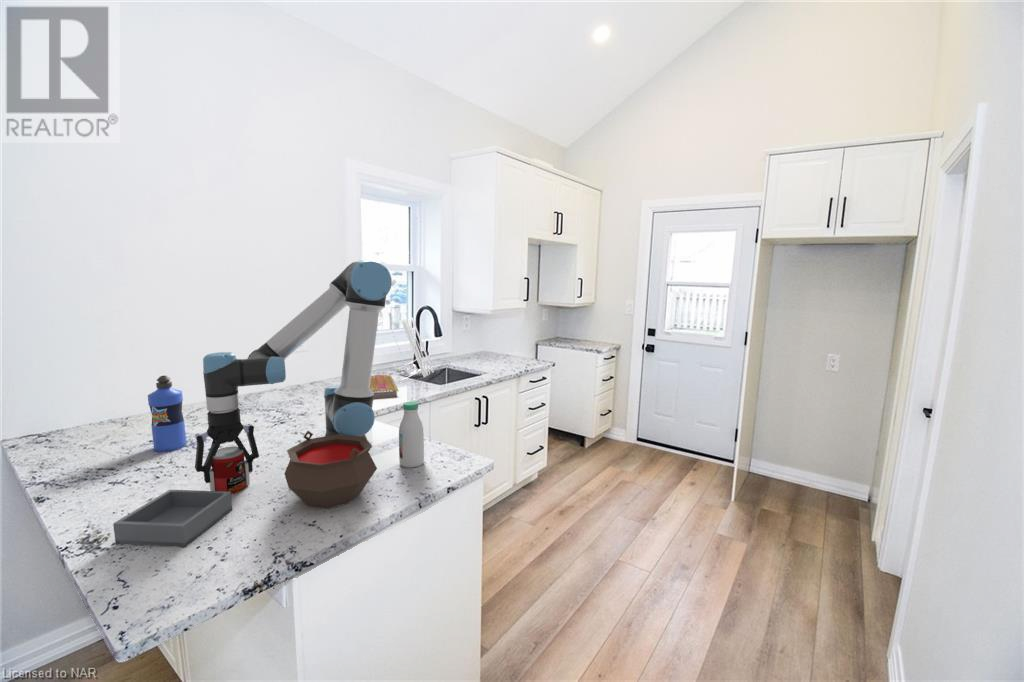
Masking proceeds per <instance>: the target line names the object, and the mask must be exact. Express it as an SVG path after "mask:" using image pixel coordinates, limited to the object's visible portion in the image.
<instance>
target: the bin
mask: <svg viewBox="0 0 1024 682" xmlns="http://www.w3.org/2000/svg"><path fill="white" fill-rule="evenodd" d="M232 501H233V500H232V494H231V492H224V491H210V490H192V489H191V490H189V489H169V490H166V491H165V492H164V493H162V494H161V495H159V496H157V497H155V498H153V499H151V500H150V501H149V502H147V503H145V504H143V505H142V506H140V507H139V508H136V509H135V510H134V511H131V512H130V513H129V514H126V515H125V516H123V517H122V518H120V519H119V520H117V521H115V522H114V523H113V524H112V525H113V532H114V533H113V534H114V540H115V545H118V544H129V545H128V546H143V545H157V546H156V547H167V546H177V547H176V548H186V547H188V546H189V545H190V544H191V543H192V541H193V540H194V539H195V540H196V539H197V537H198V536H199V537H200V536H202V535H203V534H204V533H206V532H207V530H209V529H210V528H211V527H213V526H214V525H215V524H217V523H218V522H219V521H221V520H222V519H223V518H224V517H226V516H227V515H228V514H229V513H231V512H232V511H233V502H232ZM230 511H231V512H230ZM202 533H203V534H202ZM199 537H198V538H199ZM195 540H194V541H195ZM194 541H193V542H194ZM190 542H191V543H190ZM189 543H190V544H189ZM130 544H131V545H130ZM188 544H189V545H188ZM158 545H159V546H158ZM187 545H188V546H187ZM178 546H180V547H178Z"/></svg>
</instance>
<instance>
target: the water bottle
mask: <svg viewBox="0 0 1024 682" xmlns="http://www.w3.org/2000/svg"><path fill="white" fill-rule="evenodd" d="M156 381H157V382H156V384H155V385H156V390H155V391H153V392H151V393H149V394H147V401H148V402H147V403H148V404H147V405H148V406H149V409H150V413H151V434H152V436H151V437H152V443H153V451H154V452H156V453H157V452H158V453H166V452H167V451H168V452H173V450H174V451H177V450H181V449H182V447H183V448H185V447H186V446H187V445H186V444H187V435H186V426H185V425H186V424H185V418H184V415H183V401H184V398H183V391H182V390H179V389H175V388H173V387H172V386H173V381H172V380H171V377H169V376H168V375H161V376H159V377H158V378H157V379H156ZM185 445H186V446H185ZM184 446H185V447H184ZM168 452H167V453H168Z"/></svg>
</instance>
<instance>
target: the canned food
mask: <svg viewBox="0 0 1024 682" xmlns="http://www.w3.org/2000/svg"><path fill="white" fill-rule="evenodd" d="M244 460H245V457H244V452H243V450H240V449H239V448H238V446H225V447H221V448H220V447H219V448H218V450H217V453H216V455H215V456H213V463H212V466H211V468H212V470H213V474H214V485H215V491H224V492H231V495H232V493H233V494H236V493H238V491H239V492H241V491H242V490H243V489H244V488H246V486H247V485H246V476H245V463H244ZM240 490H241V491H240ZM235 492H236V493H235Z"/></svg>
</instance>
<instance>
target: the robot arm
mask: <svg viewBox="0 0 1024 682" xmlns="http://www.w3.org/2000/svg"><path fill="white" fill-rule="evenodd" d="M392 281H393V280H392V275H391V273H390V271H389V270H388V268H387V267H386V266H385V265H384V264H383V263H381V262H378V261H376V260H373V259H363V260H356V261H353V262H351V263H350V264H348V265H347V266H346V267H345V268H344V270H342V271H341V273H339V275H338V276H336V278H334V279H333V280H332V281H331V282H330V283H329V288H327V290H325V291H324V292H323V293H322V294H321V295H320V296H319V297H317V298H316V299H315V300H313V301H312V302H311V303H310V304H309V305H308V306H307V307H305V308H304V309H303V310H302V311H300V313H299V314H297V315H296V316H295V317H294V318H292V319H291V320H290V321H289V322H288V323H287V324H286V325H284V326H283V327H282V328H281V329H280V330H278V331H277V332H276V333H274V334H273V336H271V337H270V338H269V339H268V340H267V341H265V343H263V344H262V345H261V346H259V347H258V348H257V349H254V350H253V351H251V353H250V354H249V355H248V357H247V358H244V359H243V358H237V357H236V354H235V353H234V352H231V351H227V352H225V351H221V352H212V353H208V354H207V355H205V356H204V357H203V358H202V366H203V371H202V373H203V381H204V389H205V390H204V392H205V399H206V410H207V411H208V412H207V415H206V416H207V424H208V425H207V426H208V428H207V430H206V431H205V432H203V433H196V434H195V437H194V438H195V439H196V452H195V460H194V461H195V463H194V469H195V471H196V472H197V473H200V472H203V479H204V480H203V481H204V482H205V483H206V484H209V491H215V485H214V474H213V470H212V463H213V456H215V455H216V453H217V450H218V449H220V446H221V445H222V444H223V445H224V444H226V443H232V442H234V444H236V447H238V448H239V449H240V450H243V452H244V463H245V476H246V485H245V486H249V485H251V484H250V481H251V480H250V473H251V472H253V471H254V470H253V468H254V467H253V462H254V460H255V459H258V458H259V457H260V453H259V450H258V447H257V443H256V442H257V441H256V439H255V435H254V431H255V426H254V425H253V424H252V423H248V424H242V422H241V421H242V420H241V411H240V410H241V409H240V408H239V406H240V397H239V387H248V386H249V387H250V386H260V385H261V386H262V385H263V386H264V385H274V384H278V383H284V382H285V381H286V380H287V379H286V377H287V372H286V362H285V360H286V359H287V358H288V357H289V356H291V355H292V354H293V353H294V352H295V351H296V350H297V349H299V348H300V347H301V346H302V345H303V344H305V342H307V341H308V340H309V339H310V338H312V336H313V335H315V334H316V333H317V332H318V331H319V330H320V329H322V328H323V327H324V326H325V325H326V324H327V323H329V322H330V321H331V320H332V319H334V317H335V316H336V315H338V314H339V313H340V312H342V310H344V309H345V308H346V307H348V308H349V311H348V319H347V328H346V336H345V344H344V345H345V346H344V353H343V361H342V367H341V368H342V370H341V379H340V384H337V385H330V386H327V387H326V388H325V389H324V394H323V399H324V410H325V411H324V413H325V415H324V416H325V435H324V436H330V435H336V434H343V435H352V436H362V437H365V438H366V439H367V440H368V438H367V435H366V434H367V433H369V432H370V431H371V429H372V428H373V426H374V423H375V413H374V410H373V403H374V399H373V397H374V393H375V392H372V390H371V389H370V380H371V378H372V377H371V376H372V370H373V362H374V355H375V354H374V353H375V345H376V339H377V331H378V321H379V315H380V312H381V311H382V310H383V309H385V308H386V301H387V295H388V294H389V293H390V290H391V288H392V283H393V282H392ZM243 430H244V433H246V436H247V437H246V438H247V439H248V443H249V447H250V451H251V453H249V451H248V450H247V449H246V447H245V445H244V443H243V442H242V441H241V439H240V437H239V435H240V434H241V432H242V431H243ZM207 437H209V438H210V439H212V441H211V445H210V448H209V450H208V453H207V455H206V459H205V461H203V460H204V452H205V442H206V441H207ZM203 462H204V464H203Z"/></svg>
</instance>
